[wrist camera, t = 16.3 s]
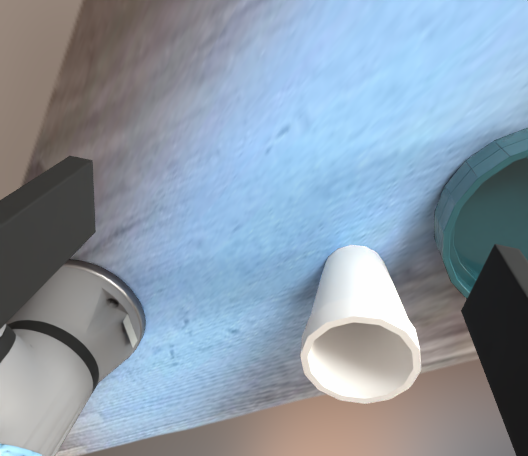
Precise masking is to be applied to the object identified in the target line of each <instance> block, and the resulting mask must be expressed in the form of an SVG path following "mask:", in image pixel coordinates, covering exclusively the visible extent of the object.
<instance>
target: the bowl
mask: <svg viewBox="0 0 528 456" xmlns="http://www.w3.org/2000/svg"><path fill="white" fill-rule="evenodd" d="M434 239H435V241H436V244H437V247H438V249H439V252H440V255H441V257H442V260H443V262H444V265H445V268H446V270H447V273H448V276H449V278H450V281H451V282H452V284H453V285H454V286H455V287H456V288H457V289H458V290H459V291H460V292H461V293H462V294H463V295H464V296H465V298H466V299H467V298H468V296H469V294H470V292H471V290H472V288H473V286H474V284H475V282H476V280H477V278H478V276H479V274H480V272H481V270H482V268H483V266H484V264H485V262H486V260H487V258H488V256H489V254H490V252H491V250H492V248H493V246H494V244H498V245H503V246H508V247H512V248H517V249H520V251H521V252H522V254H523V255H524V256H525V258H526V259H527V261H528V128H526V129H523V130H521V131H518V132H515V133H513V134H510V135H507V136H505V137H502V138H499V139H497V140H494V141H493V142H491V143H490V144H489V145H487V146H486V147H484V148H483V149H482V150H480V151H479V152H477V153H476V154H474V155H473V156H472V157H470V158H469V159H467V160H466V161H465V162H464V163H463V164H462V166H461V167H460V168H459V169H458V170H457V172H456V173H455V174H454V175H453V177H452V178H451V179H450V180H449V181H448V183H447V184H446V185H445V187H444V189H443V192H442V194H441V197H440V199H439V202H438V204H437V207H436V209H435V214H434Z"/></svg>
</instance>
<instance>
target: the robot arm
mask: <svg viewBox="0 0 528 456" xmlns="http://www.w3.org/2000/svg"><path fill="white" fill-rule="evenodd" d="M94 233H95V209H94V186H93V163H92V160H88V159H83V158H78V157H73V156H69V157H67V158H66V159H64V160H63V161H61V162H60V163H58V164H56V165H55V166H53V167H52V168H50V169H49V170H47V171H45V172H44V173H42V174H41V175H39V176H38V177H36V178H35V179H33V180H31V181H30V182H28V183H27V184H25V185H24V186H22V187H20V188H19V189H17V190H16V191H14V192H13V193H11V194H9V195H8V196H6V197H5V198H3V199H2V200H0V456H55V455H56V454H57V452H58V450H59V449H60V447H61V445H62V444H63V442H64V440H65V438H66V437H67V435H68V433H69V432H70V430H71V428H72V427H73V425H74V423H75V421H76V420H77V418H78V416H79V415H80V413H81V411H82V410H83V408H84V406H85V405H86V403H87V401H88V399H89V398H90V396H91V394H92V393H93V391H94V389H95V388H96V386H97V384H98V383H99V382H100V381H101V380H102V379H104V378H105V377H106V376H107V375H108V374H110V373H111V372H112V371H113V370H114V369H116V368H117V367H118V366H119V365H120V364H121V363H123V362H124V361H125V360H126V359H128V358H129V357H130V356H131V354H132V353H133V352H134V351H135V350H136V348H137V346H138V345H139V343H140V341H141V339H142V337H143V335H144V332H145V326H146V322H145V315H144V311H143V308H142V306H141V304H140V302H139V300H138V298H137V297H136V295H135V294H134V293H133V291H132V290H131V289H130V288H129V287H128V286H127V285H126V284H125V283H124V282H123V281H122V280H121V279H119V278H118V277H117V276H115V275H114V274H112V273H111V272H109V271H107V270H106V269H104V268H102V267H99V266H97V265H94V264H91V263H88V262H84V261H79V260H69V259H70V257H71V256H72V255H73V254H74V253H75V252H76V251H77V250H78V249H79V248H80V247H81V246H82V245H83V244H84V243H85V242H86V241H87V240H88V239H89V238H90V237H91V236H92V235H93V234H94ZM461 312H462V314H463V317H464V319H465V322H466V325H467V327H468V330H469V332H470V335H471V338H472V340H473V343H474V346H475V348H476V351H477V353H478V356H479V359H480V361H481V364H482V366H483V369H484V372H485V374H486V377H487V380H488V382H489V385H490V388H491V390H492V392H493V395H494V398H495V401H496V403H497V406H498V408H499V411H500V414H501V416H502V419H503V422H504V424H505V427H506V429H507V432H508V434H509V437H510V440H511V442H512V445H513V448H514V450H515V453H516V456H528V261H527V259H526V258H525V256H524V255H523V254H522V252H521V251H520V249H517V248H512V247H508V246H503V245H498V244H494V246H493V248H492V250H491V252H490V254H489V256H488V258H487V260H486V262H485V264H484V266H483V268H482V270H481V272H480V274H479V276H478V278H477V280H476V282H475V284H474V286H473V288H472V290H471V292H470V294H469V296H468V298H467V300H466V302H465V304H464V306H463V308H462V310H461Z"/></svg>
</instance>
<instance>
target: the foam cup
mask: <svg viewBox="0 0 528 456" xmlns="http://www.w3.org/2000/svg"><path fill="white" fill-rule="evenodd" d="M300 357H301V361H302V366H303V370H304V374H305V375H306V376H307V378H308V379H309V380H310V381H311V382H312V383H313V384H314V385H315V386H316V387H317V389H318V390H320V391H322V392H324V393H326V394H328V395H330V396H332V397H334V398H337V399H339V400H342V401H350V402H358V403H365V404H366V403H372V402H378V401H383V400H388V399H392V398H393V397H395V396H397V395H398V394H400V393H402V392H403V391H405V390H407V389H408V388H410V387H411V386H412V384H413V382H414V381H415V379H416V377H417V376H418V374H419V373H420V371H421V357H420V347H419V343H418V339H417V334H416V330H415V328H414V326H413V325H412V324H411V322H410V321H409V319H408V317H407V315H406V312H405V310H404V308H403V305H402V303H401V301H400V298H399V296H398V293H397V291H396V289H395V286H394V284H393V282H392V279H391V277H390V275H389V272H388V270H387V268H386V265H385V264H384V262H383V260H382V259H381V257H380V256H379V255H378V253H377V252H375V251H373V250H371V249H369V248H368V247H366V246H358V245H349V246H345V247H342V248H339V249H337V250H336V251H335V252H333V253H332V254H331V255H330V256H329V257H328V259H327V261H326V264H325V266H324V270H323V272H322V276H321V279H320V283H319V287H318V290H317V294H316V297H315V301H314V304H313V308H312V311H311V315H310V317H309V319H308V322H307V324H306V327H305V330H304V332H303V335H302V342H301V352H300Z"/></svg>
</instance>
